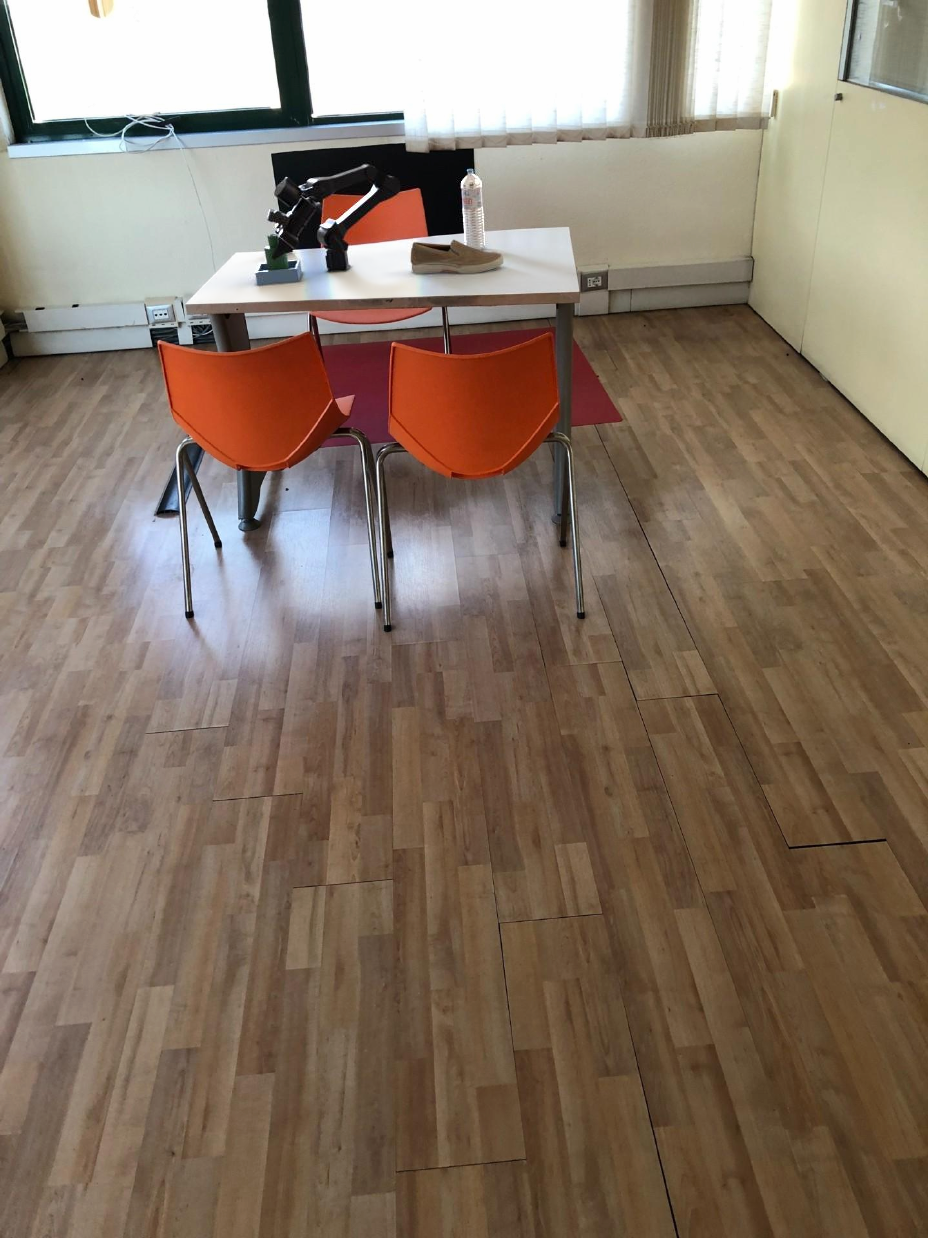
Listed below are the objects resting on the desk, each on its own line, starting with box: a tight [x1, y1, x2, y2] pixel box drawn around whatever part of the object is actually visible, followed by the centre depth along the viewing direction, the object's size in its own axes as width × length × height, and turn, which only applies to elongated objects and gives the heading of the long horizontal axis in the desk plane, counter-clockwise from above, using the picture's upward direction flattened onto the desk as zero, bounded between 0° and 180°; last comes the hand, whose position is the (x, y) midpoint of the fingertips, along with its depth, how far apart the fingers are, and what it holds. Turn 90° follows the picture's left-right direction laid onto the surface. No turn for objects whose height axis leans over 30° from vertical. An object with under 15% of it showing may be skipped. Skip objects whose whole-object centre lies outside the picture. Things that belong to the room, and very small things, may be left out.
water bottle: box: [460, 168, 486, 251], centre depth 322 cm, size 7×7×25 cm
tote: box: [254, 259, 303, 286], centre depth 312 cm, size 13×12×4 cm
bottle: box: [263, 233, 289, 271], centre depth 309 cm, size 7×7×13 cm
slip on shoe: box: [410, 239, 505, 275], centre depth 304 cm, size 30×11×9 cm, turn 78°
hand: (271, 256), depth 309 cm, fingers closed on bottle, 7 cm apart
